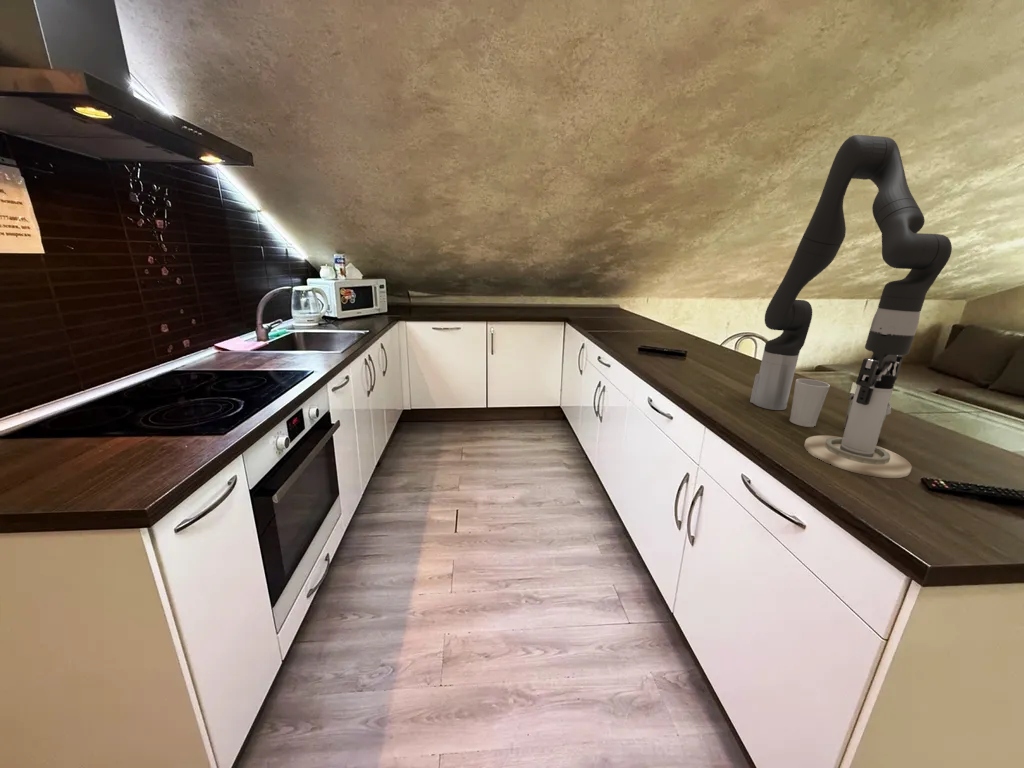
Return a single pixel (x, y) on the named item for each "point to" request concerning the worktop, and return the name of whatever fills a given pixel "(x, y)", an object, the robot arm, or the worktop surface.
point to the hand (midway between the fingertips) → (870, 401)
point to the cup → (808, 401)
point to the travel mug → (867, 419)
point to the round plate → (858, 458)
